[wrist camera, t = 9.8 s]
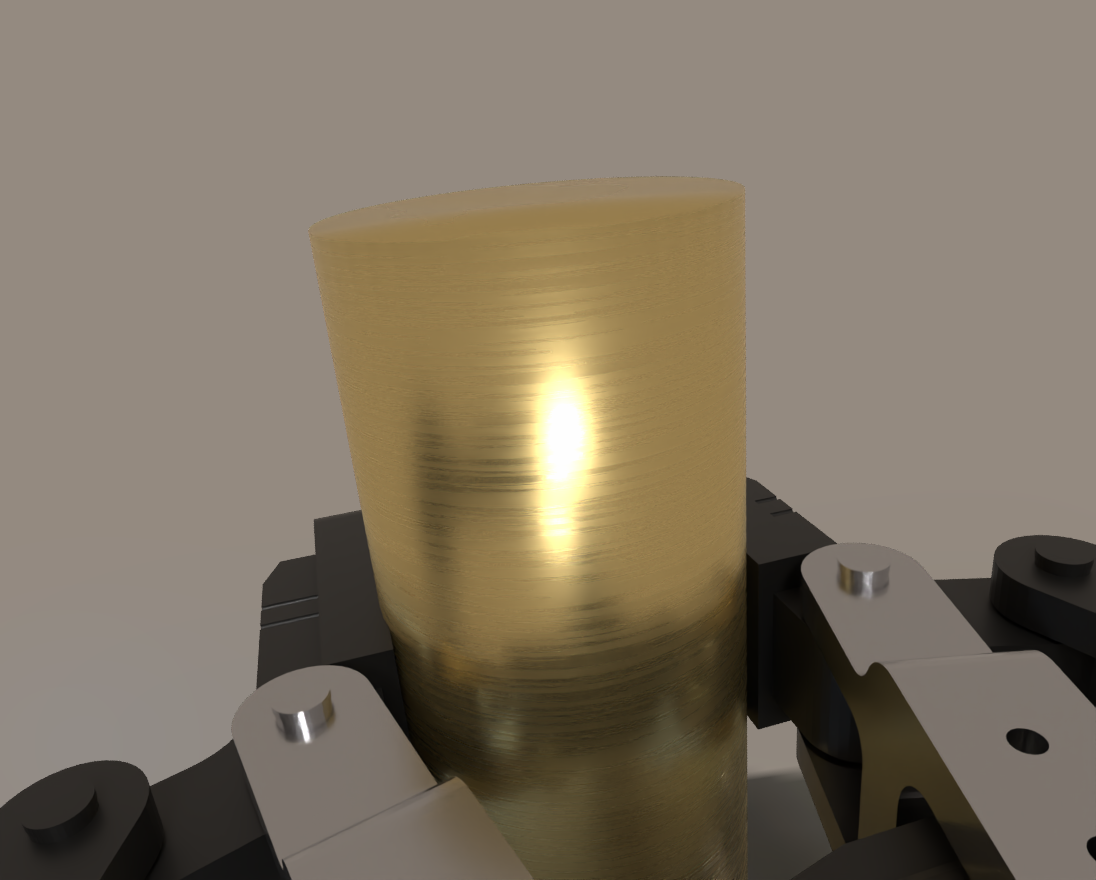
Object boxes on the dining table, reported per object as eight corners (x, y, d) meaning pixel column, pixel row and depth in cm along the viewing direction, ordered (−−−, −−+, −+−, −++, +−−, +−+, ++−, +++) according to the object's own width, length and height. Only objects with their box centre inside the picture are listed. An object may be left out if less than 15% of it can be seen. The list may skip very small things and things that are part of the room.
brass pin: (403, 1070, 11) (210, 242, 7) (548, 848, 15) (470, 183, 11) (685, 1237, 10) (634, 242, 5) (782, 941, 13) (796, 169, 9)
